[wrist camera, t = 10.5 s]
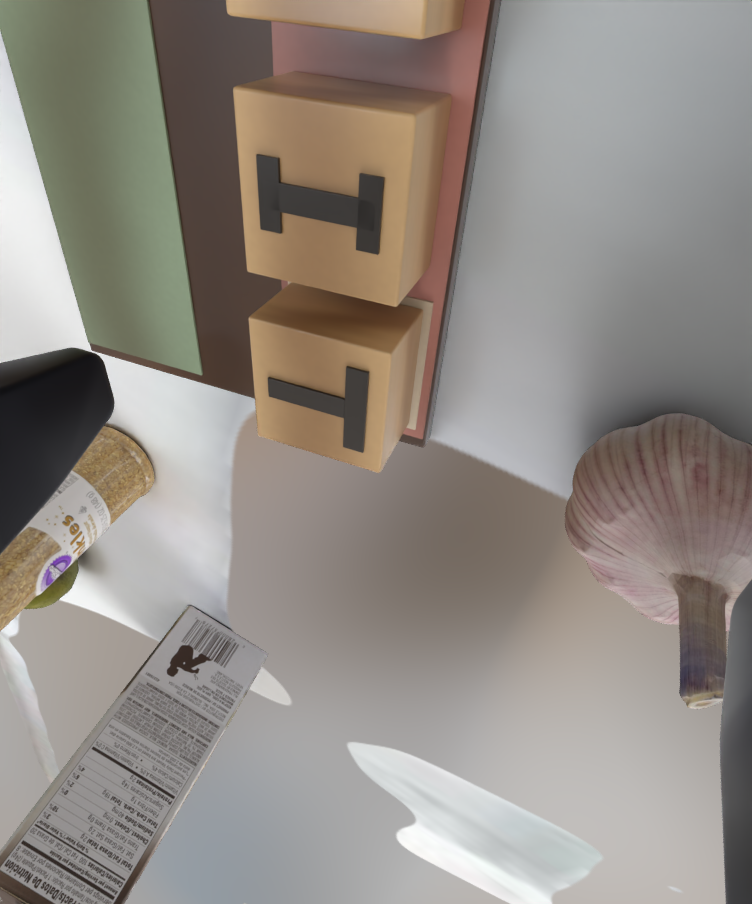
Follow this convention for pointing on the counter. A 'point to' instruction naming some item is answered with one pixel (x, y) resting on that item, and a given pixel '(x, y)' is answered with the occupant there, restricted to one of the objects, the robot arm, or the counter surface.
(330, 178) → the tile
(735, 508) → the garlic bulb
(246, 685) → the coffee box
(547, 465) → the counter surface
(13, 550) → the sprinkles bottle
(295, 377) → the tile
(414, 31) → the tile
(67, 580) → the lime
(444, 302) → the letter board
